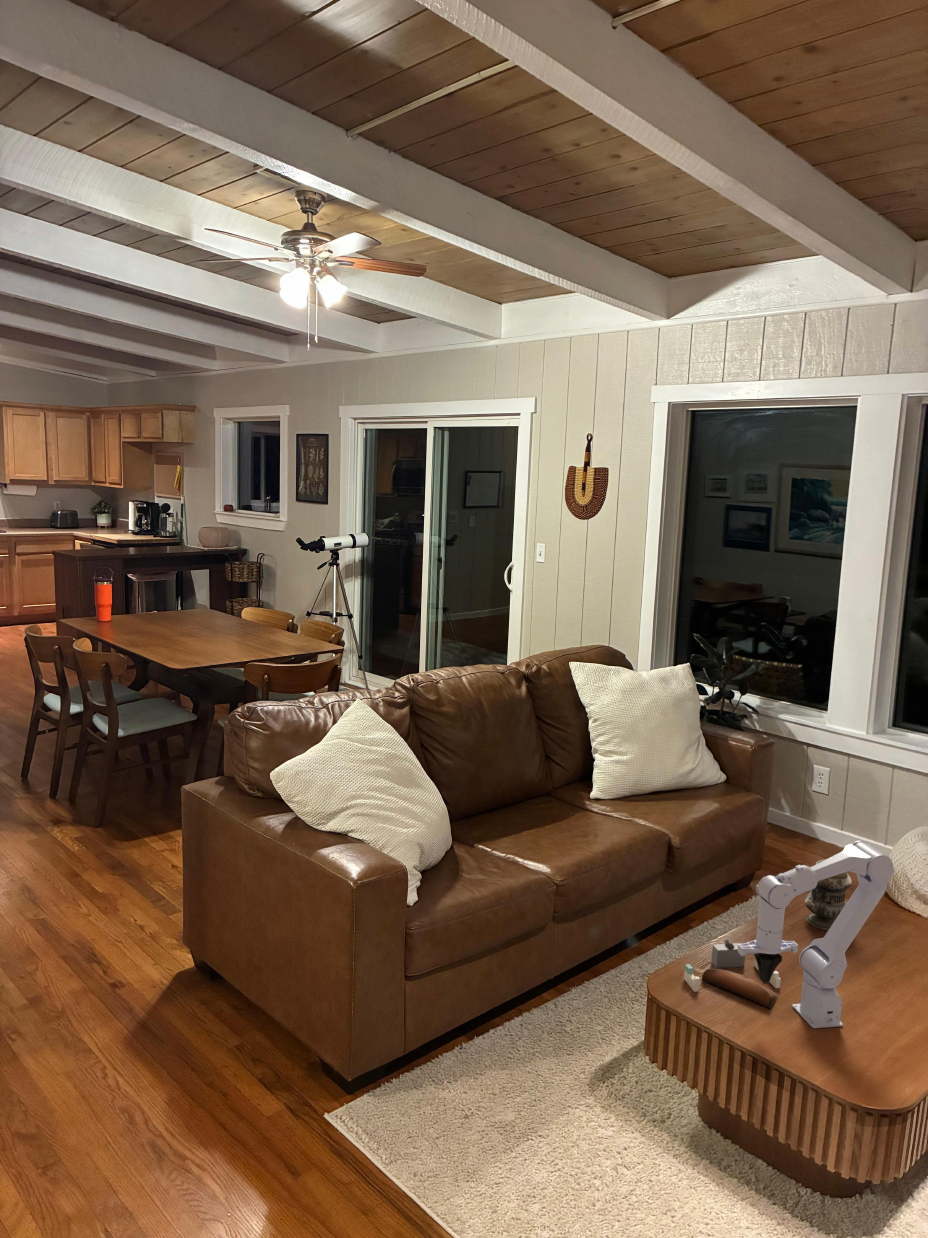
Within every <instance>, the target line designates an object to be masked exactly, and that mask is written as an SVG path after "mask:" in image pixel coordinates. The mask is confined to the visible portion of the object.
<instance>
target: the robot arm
mask: <svg viewBox="0 0 928 1238" xmlns="http://www.w3.org/2000/svg"><path fill="white" fill-rule="evenodd" d="M823 860H824V861H822V862H820V863H818V864H816V863H815V865H812V866H808V865H805V864H802V865H801V864H798V865H795V868H792V869H790V870H787V871H785V872H780V873H779V874H778V873H777V875H776V876H775V875H771V874H770V875H767V876H763V877H762V878H761V879H760V880H759V881H758V884H757V885H755V891H756V893H757V895H758V896H759V897H758V898H759V899H758V902H759V907H758V916H757V917H758V918H757V926H756V927H757V928H756V937H755V939H754V940H751V941H748V942H745V943H741V944H738V953H739V954H740V955H741V956H745V957H746V955H753V956H754V959H755V958H756V961H757V964H758V968H759V970H758V972H759V979H760V980H761V982H762V983H763V984H769V983H770V979H771V977H772V974H773V972H774V971H776V969H777V967H778V966H779V965H780V964H781V963H782V961H783V956H782V955H781V953H787V952H792V953H794V954H795V953H798V951H799V950H798V949H799V944H798V943H797V942H796V941H794V940H783V932H784V931H783V930H784V923H785V922H784V921H785V914H786V913H785V911H786V907H787V906H789V904H790V903H791V902H792V900H794V899H795V898H796V897H797V896H800V895H802V894H804V893H807V892H810V891H811V890H812V889H814V888H816V886H817V883H818V881H820V880H823V879H826V878H829V877H832V876H835V875H838V874H841V873H844V872H847V873H848V872H850V873H854V874H856V878H857V881H858V886H857V887H856V889H855V890H854V892H853V893H852V895H850V898H849V899H848V901H847V902H846V905H845V906H844V908H843V909H842V911H841V912H840V914H839V915H838V917H837V918H836V920H835V921H834V923H833V924H832V926H831V927H830V929H829V930H827V932H826V933H825V935H824V937H821V938H820V937H819V938H814V939H813V940H812V941H811V942H810V944H809V945H808V946H806V947H805V948H803V949H802V950H801V951H800V954H799V957H798V962H799V965H800V967H802V974H803V976H802V983H801V985H802V986H801V987H802V988H801V996H800V1002H799V1003H793V1004H792V1005H791V1006H792V1008H793V1009H795V1011H796V1012H797V1013H798V1015H800V1016H801V1017H802V1018H803V1019H804V1020H805V1021H806V1023H808V1025H809V1026H811V1028H812V1029H822V1028H824V1029H825V1028H834V1027H835V1028H836V1027H842V1026H843V1022H842V1021H841V1016H842V1008H843V1000H842V998H841V996H840V995H839V994H838V991H837V990H836V988H837V986H839V985H841V982H842V980H843V977H844V973H845V971H846V969H847V967H848V963H847V958H846V951H847V950H848V948H849V947H850V945H851V944H852V942H853V941H854V939H855V938H856V936H857V935H858V933H859V932H860V931H861V929H862V928H863V927H864V925H865V923H866V922H867V920H868V919H869V917H870V915H871V914H872V913H873V911H874V910H875V908H876V906H877V905H879V902H880V901H881V899H882V898H883V896H884V895H885V893H886V892H887V891H886V890H887V886H888V883H889V882H890V880H891V878H892V877H893V875H894V874H895V873H896V869H895V868H894V863H893V861H892V859H891V857H890V856H888V855H886V854H883V853H882V852H880V851H879V850H878V849H876V848H875V847H873V846H872V845H870V844H869V843H867V842H866V841H864V840H856V841H854V842H852V843H850V844H847V845H845V847H844V848H843V850H842V851H840V852H838V853H836V854H834V855H832V856H831V857H828V858H826V859H823Z"/></svg>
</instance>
